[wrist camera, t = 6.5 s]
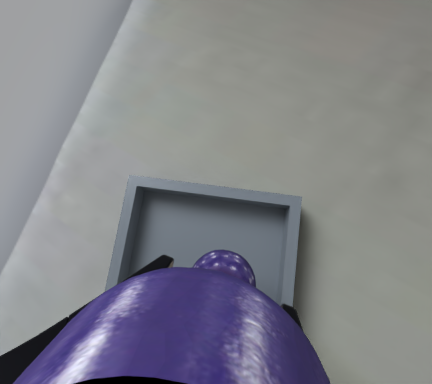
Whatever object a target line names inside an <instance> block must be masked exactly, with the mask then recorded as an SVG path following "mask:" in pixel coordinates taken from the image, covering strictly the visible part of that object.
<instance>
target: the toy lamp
mask: <svg viewBox="0 0 432 384" xmlns="http://www.w3.org/2000/svg"><path fill="white" fill-rule="evenodd" d="M13 384H330V381H329V379H328V377H327V375H326V373H325V371H324V368H323V366H322V364H321V362H320V360H319V357H318V355H317V354H316V352H315V350H314V348H313V346H312V345H311V343H310V341H309V340H308V338H307V337H306V335H305V334H304V332H303V331H302V329H301V328H300V327H299V326H298V324H297V323H296V322H295V321H294V320H293V319H292V318H291V316H290V315H289V314H288V313H287V312H286V311H285V310H284V309H283V308H282V307H281V306H279V305H278V304H277V303H276V302H275V301H274V300H272V299H271V298H270V297H269V296H267V295H266V294H265V293H263V292H262V291H260V290H259V289H257V288H256V280H255V275H254V272H253V270H252V268H251V266H250V264H249V263H248V262H247V260H246V259H245V258H244V257H242V256H241V255H239V254H238V253H235V252H233V251H229V250H223V249H222V250H213V251H210V252H208V253H206V254H204V255H203V256H202V257H200V258H199V259H198V260H197V261H196V263H195V264H194V265H193V267H191V268H187V267H171V268H162V269H158V270H153V271H150V272H147V273H144V274H140V275H137V276H134V277H131V278H129V279H127V280H125V281H124V282H122V283H120V284H118V285H116V286H114V287H112V288H111V289H109V290H107V291H105V292H104V293H103V294H101V295H100V296H98V297H97V298H96V299H94V300H93V301H92V302H90V303H89V304H88V305H87V306H86V307H85V308H84V309H82V310H81V311H80V312H79V313H78V314H77V315H76V316H75V317H74V318H73V319H72V320H71V321H70V322H68V324H67V325H66V326H65V327H64V328H63V329H62V330H61V331H60V333H59V334H58V335H57V336H56V337H55V338H54V339H53V340H52V341H51V343H50V344H49V345H48V346H47V347H46V348H45V349H44V350H43V351H42V352H41V353H40V354H39V355H38V357H37V358H36V359H35V360H34V361H33V362H32V363H31V364H30V365H29V366H28V367H27V368H26V369H25V370H24V372H23V373H22V374H21V375H20V376H19V377H18V378H17V379H16V381H15V382H14V383H13Z"/></svg>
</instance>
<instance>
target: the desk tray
mask: <svg viewBox="0 0 432 384" xmlns="http://www.w3.org/2000/svg"><path fill="white" fill-rule="evenodd" d="M301 201H302V197H300V196H292V195H284V194H277V193H269V192H261V191H253V190H245V189H237V188H229V187H221V186H213V185H205V184H198V183H190V182H182V181H174V180H166V179H158V178H150V177H142V176H134V175H129V178H128V182H127V187H126V192H125V197H124V202H123V206H122V211H121V216H120V221H119V225H118V230H117V235H116V240H115V245H114V249H113V254H112V259H111V264H110V268H109V273H108V278H107V283H106V288H105V291H107V290H109V289H110V288H112V287H114V286H115V285H117V284H118V283H120V282H121V281H123V280H124V279H126V278H127V277H129V276H130V275H132V274H134V273H135V272H137V271H138V270H140V269H141V268H143V267H144V266H146V265H147V264H149V263H150V262H152V261H154V260H155V259H157V258H158V257H160V256H161V255H167V256H170V257H172V258H174V264H173V267H187V268H191V267H193V265H194V264H195V263H196V261H197V260H198V259H199V258H200V257H202V256H203V255H204V254H206V253H208V252H210V251H213V250H222V249H223V250H229V251H233V252H235V253H238V254H239V255H241V256H242V257H244V258H245V259H246V260H247V262H248V263H249V264H250V266H251V268H252V270H253V272H254V275H255V280H256V288H257V289H259V290H260V291H262V292H263V293H265V294H266V295H267V296H269V297H270V298H271V299H272V300H274V301H275V302H276V303H277V304H278V305H279V306H281V305H282V304H283V303H284V304H287V305H290V306H292V307H293V295H294V283H295V271H296V260H297V248H298V236H299V224H300V213H301Z"/></svg>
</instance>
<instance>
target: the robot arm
mask: <svg viewBox="0 0 432 384" xmlns="http://www.w3.org/2000/svg"><path fill="white" fill-rule="evenodd" d="M173 264H174V258H172V257H170V256H167V255H161V256H160V257H158V258H157V259H155V260H154V261H152V262H150V263H149V264H147V265H146V266H144V267H143V268H141V269H140V270H138V271H137V272H135V273H134V274H132V275H130V276H129V277H127V278H126V279H124V280H123V281H121V282H120V283H122V282H124V281H125V280H127V279H129V278H131V277H134V276H137V275H140V274H144V273H147V272H150V271H153V270H158V269H162V268H171V267H173ZM120 283H118V284H120ZM118 284H117V285H118ZM115 286H116V285H115ZM110 289H111V288H110ZM95 299H96V298H95ZM92 301H93V300H92ZM92 301H90V302H92ZM90 302H89V303H90ZM89 303H87V304H86V305H84V306H83V307H81V308H80V309H78V310H77V311H75V312H74V313H72V314H70V315H69V318H68V317H66V318H64V319H63V320H61V321H60V322H58V323H56V324H55V325H53V326H52V327H50V328H49V329H47V330H45V331H44V332H42V333H40V334H39V335H37V336H36V337H34V338H32V339H30V340H28V341H27V342H25V343H23V344H21V345H20V346H18V347H16V348H14V349H12V350H11V351H9V352H7V353H5V354H3V355H1V356H0V384H13V383H14V382H15V381H16V379H17V378H18V377H19V376H20V375H21V374H22V373H23V372H24V370H25V369H26V368H27V367H28V366H29V365H30V364H31V363H32V362H33V361H34V360H35V359H36V358H37V357H38V355H39V354H40V353H41V352H42V351H43V350H44V349H45V348H46V347H47V346H48V345H49V344H50V343H51V341H52V340H53V339H54V338H55V337H56V336H57V335H58V334H59V333H60V331H61V330H62V329H63V328H64V327H65V326H66V325H67V324H68V322H70V321H71V320H72V319H73V318H74V317H75V316H76V315H77V314H78V313H79V312H80V311H81V310H82V309H84V308H85V307H86V306H87V305H88V304H89ZM281 307H282V308H283V309H284V310H285V311H286V312H287V313H288V314H289V315H290V316H291V318H292V319H293V320H294V321H295V322H296V323H297V324H298V326H299V327H300V328H301V329H302V326H301V324H300V321H299V318H298V315H297V312H296V310H295V308H294V307H292V306H290V305H287V304H284V303H283V304H282V305H281ZM302 331H303V329H302Z"/></svg>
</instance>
